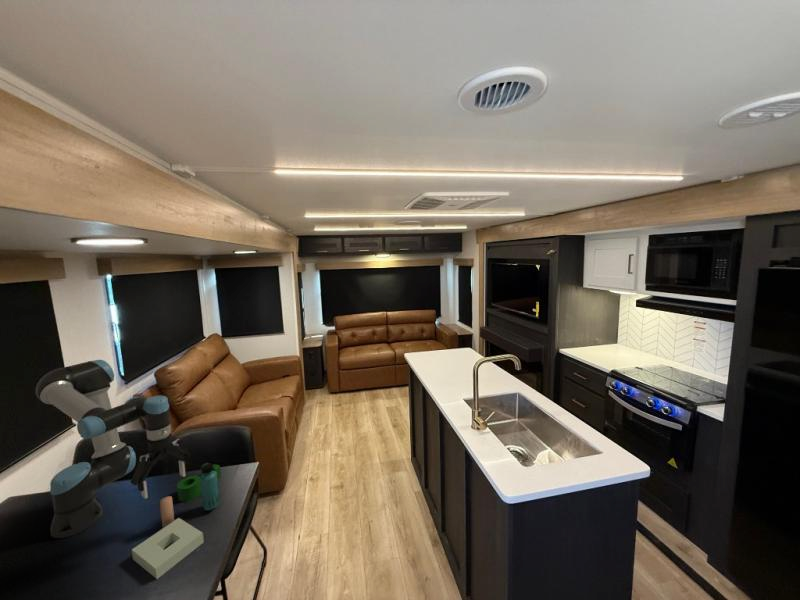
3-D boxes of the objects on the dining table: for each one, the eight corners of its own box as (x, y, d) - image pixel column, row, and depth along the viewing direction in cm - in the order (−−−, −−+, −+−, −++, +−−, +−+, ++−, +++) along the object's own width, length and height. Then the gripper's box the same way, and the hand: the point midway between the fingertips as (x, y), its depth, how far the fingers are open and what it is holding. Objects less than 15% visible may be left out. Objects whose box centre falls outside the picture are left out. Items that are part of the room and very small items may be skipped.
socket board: (133, 559, 116) (131, 549, 115) (179, 526, 130) (178, 517, 129) (157, 579, 109) (155, 568, 108) (203, 542, 123) (202, 532, 122)
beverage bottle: (207, 516, 135) (203, 472, 133) (199, 509, 139) (195, 467, 136) (223, 506, 141) (219, 464, 138) (214, 500, 144) (211, 459, 142)
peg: (160, 528, 129) (157, 501, 128) (171, 521, 133) (168, 495, 131) (166, 532, 127) (163, 505, 126) (176, 524, 131) (174, 498, 129)
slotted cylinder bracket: (189, 503, 143) (188, 490, 142) (173, 500, 145) (172, 487, 144) (220, 476, 160) (219, 465, 159) (205, 474, 162) (204, 462, 161)
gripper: (125, 456, 112) (131, 510, 114) (197, 423, 134) (201, 470, 136) (115, 450, 115) (121, 503, 118) (187, 419, 137) (191, 464, 140)
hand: (164, 485), depth 127 cm, fingers open, 13 cm apart
